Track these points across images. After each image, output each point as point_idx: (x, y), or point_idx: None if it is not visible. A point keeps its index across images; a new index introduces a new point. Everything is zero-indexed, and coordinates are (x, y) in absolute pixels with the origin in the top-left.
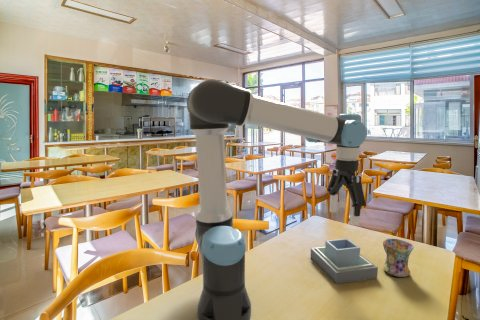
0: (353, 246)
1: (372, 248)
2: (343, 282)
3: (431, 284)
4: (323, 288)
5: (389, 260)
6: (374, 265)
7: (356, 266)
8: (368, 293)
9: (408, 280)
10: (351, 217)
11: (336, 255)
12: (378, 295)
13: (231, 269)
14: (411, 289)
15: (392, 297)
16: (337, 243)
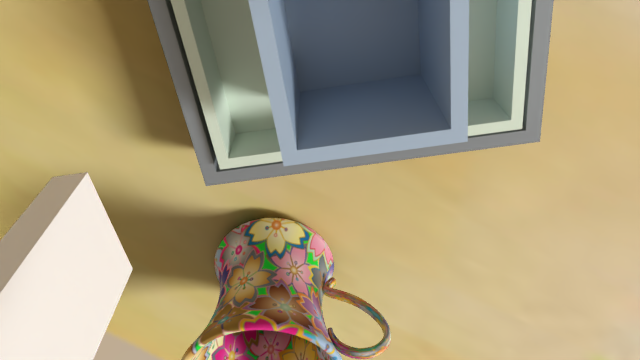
0: (346, 135)
1: (526, 270)
2: None
3: (178, 326)
4: None
5: (254, 271)
6: (228, 178)
7: (191, 61)
8: (59, 38)
9: (204, 269)
10: (4, 258)
11: None
12: (50, 82)
13: None
14: (130, 245)
15: (46, 139)
16: (442, 32)
